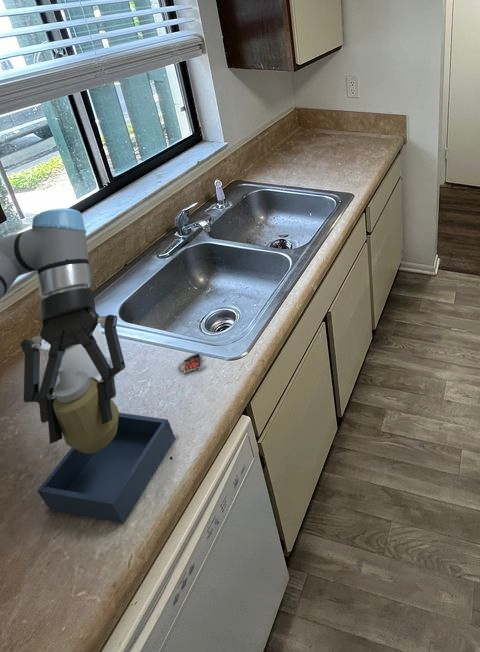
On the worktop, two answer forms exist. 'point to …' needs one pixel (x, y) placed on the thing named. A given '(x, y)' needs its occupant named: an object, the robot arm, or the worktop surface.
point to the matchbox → (191, 363)
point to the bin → (109, 471)
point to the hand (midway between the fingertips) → (82, 431)
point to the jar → (80, 356)
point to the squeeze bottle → (82, 412)
